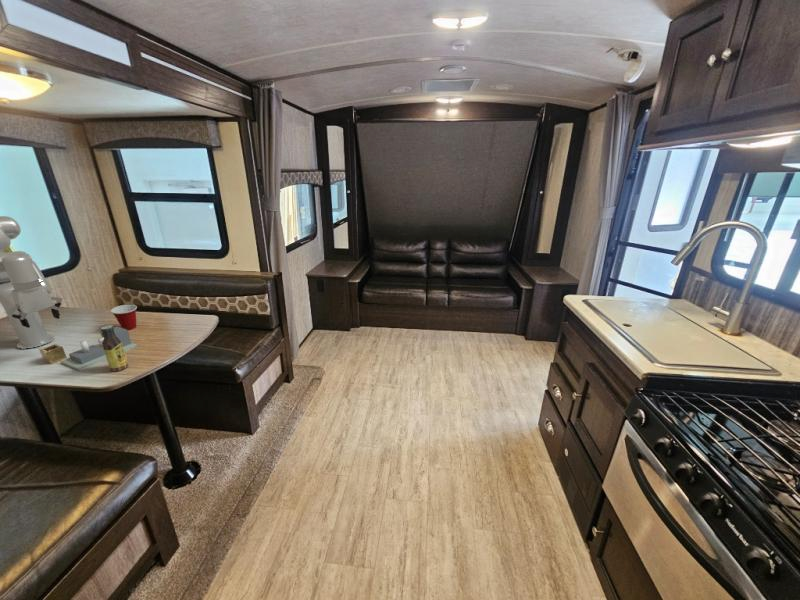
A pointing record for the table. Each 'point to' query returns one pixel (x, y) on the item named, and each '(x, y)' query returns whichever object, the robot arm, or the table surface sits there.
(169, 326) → the table surface
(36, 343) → the robot arm
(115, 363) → the sauce bottle
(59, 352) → the hollow wooden square tube
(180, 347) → the table surface
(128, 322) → the plastic cup
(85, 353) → the coupling rig
